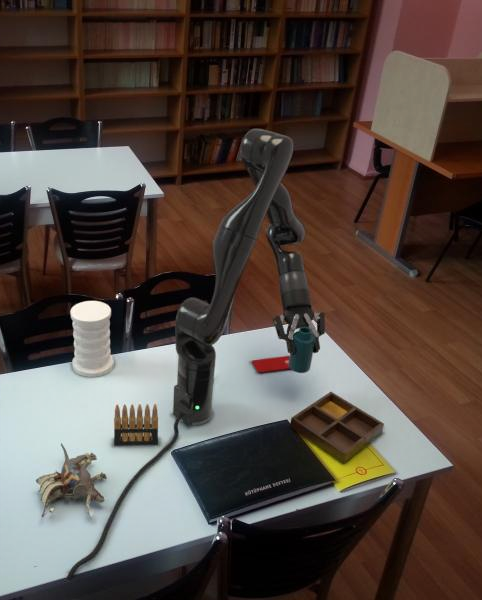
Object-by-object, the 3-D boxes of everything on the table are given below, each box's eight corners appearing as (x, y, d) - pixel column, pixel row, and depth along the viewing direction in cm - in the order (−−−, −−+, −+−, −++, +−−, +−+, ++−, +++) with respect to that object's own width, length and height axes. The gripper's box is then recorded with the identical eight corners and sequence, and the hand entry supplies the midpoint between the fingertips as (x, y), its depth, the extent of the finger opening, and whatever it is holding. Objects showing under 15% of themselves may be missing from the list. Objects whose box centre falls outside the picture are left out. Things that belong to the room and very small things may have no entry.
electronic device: (258, 373, 176) (306, 367, 180) (258, 371, 176) (306, 365, 180) (251, 361, 181) (298, 355, 185) (251, 360, 181) (298, 354, 185)
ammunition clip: (113, 445, 148) (112, 407, 142) (114, 440, 149) (113, 401, 143) (158, 444, 149) (159, 406, 143) (158, 439, 150) (159, 401, 144)
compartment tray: (343, 463, 147) (345, 454, 146) (289, 426, 157) (291, 417, 156) (381, 432, 157) (384, 423, 156) (329, 400, 168) (330, 391, 166)
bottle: (300, 375, 159) (307, 338, 154) (284, 365, 163) (289, 329, 157) (314, 367, 163) (321, 331, 157) (297, 357, 166) (303, 321, 161)
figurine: (127, 483, 131) (59, 527, 120) (126, 501, 134) (60, 545, 124) (73, 430, 142) (7, 466, 132) (74, 448, 146) (9, 484, 135)
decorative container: (80, 350, 181) (77, 297, 172) (118, 355, 180) (117, 302, 171) (66, 373, 171) (62, 319, 162) (106, 379, 170) (105, 324, 161)
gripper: (273, 288, 158) (283, 353, 154) (325, 285, 161) (336, 348, 157) (264, 296, 165) (273, 358, 161) (314, 293, 168) (324, 353, 164)
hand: (304, 353), depth 159 cm, fingers closed on bottle, 6 cm apart
